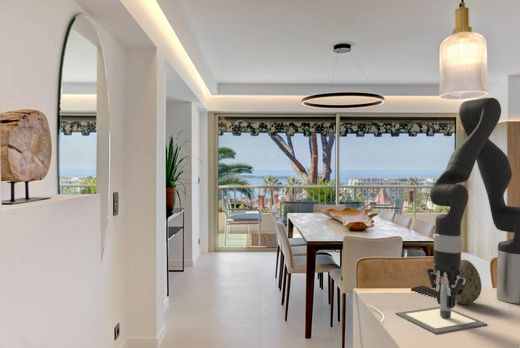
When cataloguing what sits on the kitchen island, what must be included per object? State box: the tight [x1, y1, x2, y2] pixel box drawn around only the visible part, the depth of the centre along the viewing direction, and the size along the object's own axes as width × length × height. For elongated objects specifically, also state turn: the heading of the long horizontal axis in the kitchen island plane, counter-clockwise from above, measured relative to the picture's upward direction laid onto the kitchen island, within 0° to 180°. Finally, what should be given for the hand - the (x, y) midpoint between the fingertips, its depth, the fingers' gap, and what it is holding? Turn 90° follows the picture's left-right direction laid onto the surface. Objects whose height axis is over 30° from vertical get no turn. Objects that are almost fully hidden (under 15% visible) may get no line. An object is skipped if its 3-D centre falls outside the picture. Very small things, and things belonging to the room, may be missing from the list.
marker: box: [439, 276, 452, 318], centre depth 120 cm, size 3×3×12 cm
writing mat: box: [395, 306, 488, 335], centre depth 120 cm, size 20×16×1 cm
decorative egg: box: [455, 259, 482, 305], centre depth 136 cm, size 11×11×15 cm
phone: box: [410, 285, 437, 299], centre depth 145 cm, size 8×1×15 cm
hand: (445, 305), depth 120 cm, fingers closed on marker, 3 cm apart
